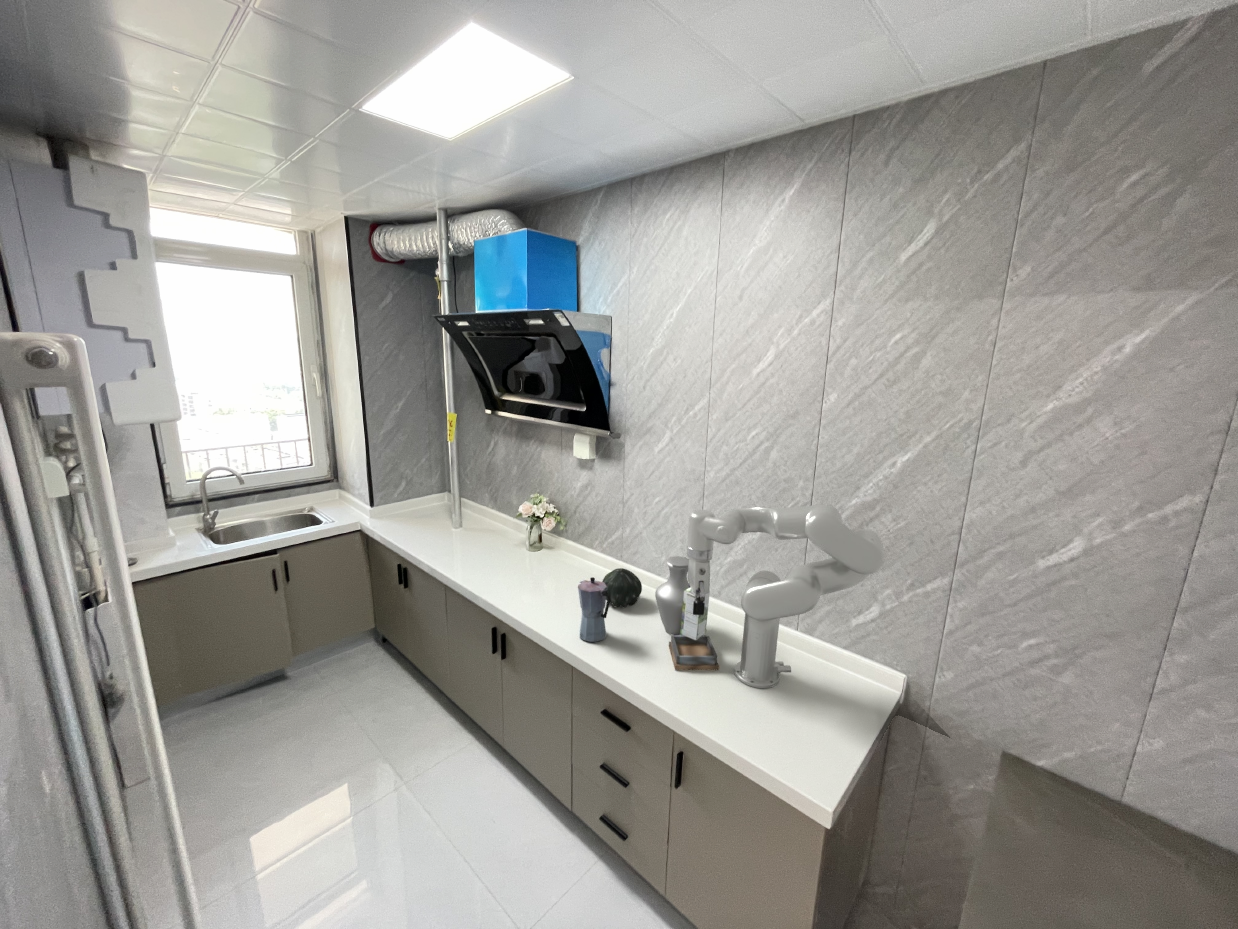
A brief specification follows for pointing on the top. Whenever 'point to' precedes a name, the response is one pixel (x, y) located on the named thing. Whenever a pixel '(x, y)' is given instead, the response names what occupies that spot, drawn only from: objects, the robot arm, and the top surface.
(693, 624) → the syrup box
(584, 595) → the moka pot
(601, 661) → the top surface
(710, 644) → the dock
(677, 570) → the vase
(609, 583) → the squash
